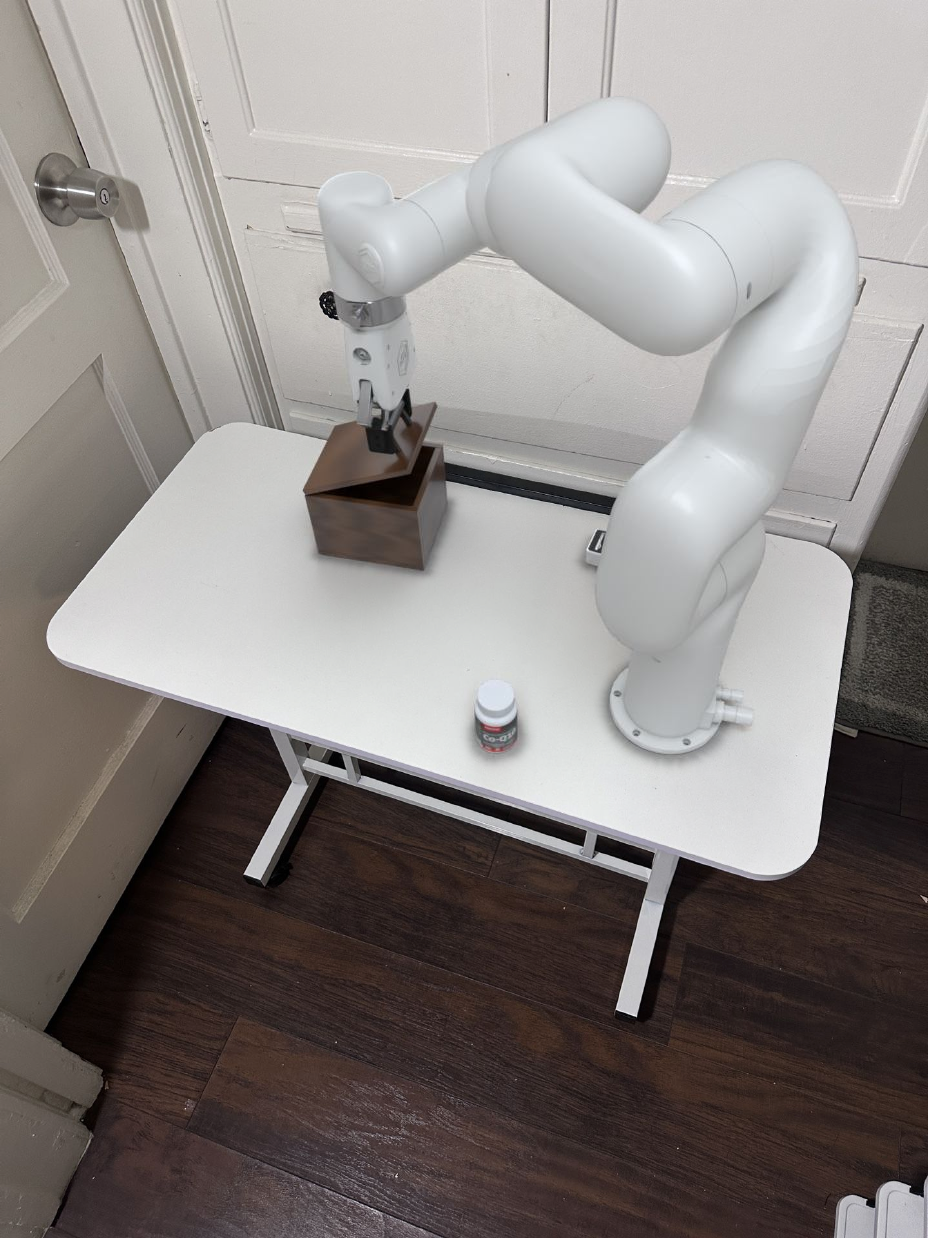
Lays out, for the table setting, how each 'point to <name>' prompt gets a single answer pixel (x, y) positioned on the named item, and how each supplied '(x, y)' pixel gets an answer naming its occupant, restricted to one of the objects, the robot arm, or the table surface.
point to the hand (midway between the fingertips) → (391, 432)
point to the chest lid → (354, 461)
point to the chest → (384, 515)
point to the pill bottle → (496, 716)
